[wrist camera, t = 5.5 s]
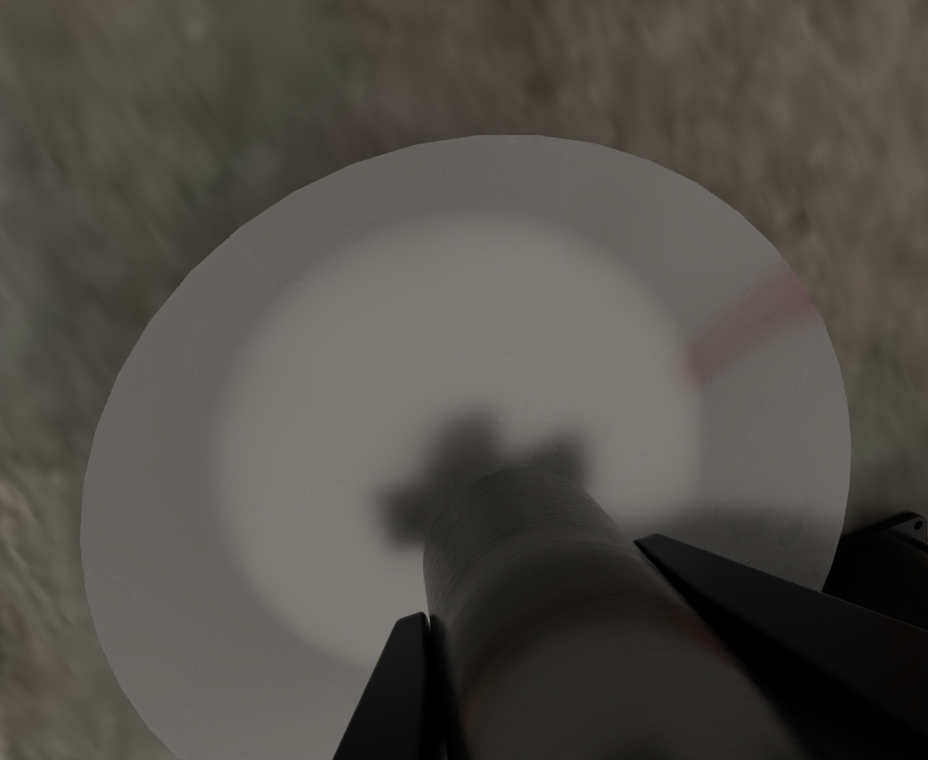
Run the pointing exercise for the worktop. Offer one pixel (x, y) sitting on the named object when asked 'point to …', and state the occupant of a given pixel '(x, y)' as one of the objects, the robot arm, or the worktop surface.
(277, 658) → the lid
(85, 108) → the worktop surface
